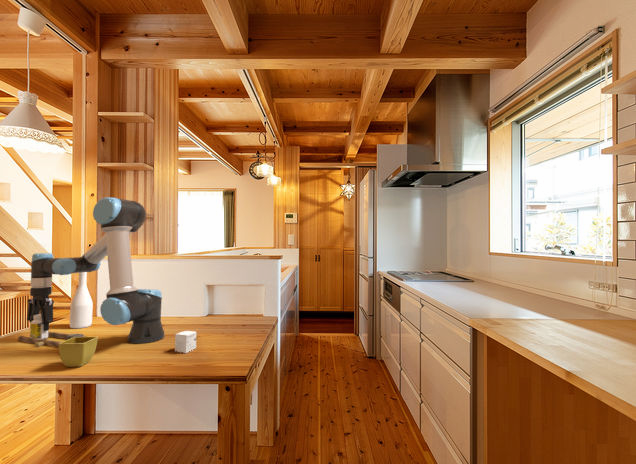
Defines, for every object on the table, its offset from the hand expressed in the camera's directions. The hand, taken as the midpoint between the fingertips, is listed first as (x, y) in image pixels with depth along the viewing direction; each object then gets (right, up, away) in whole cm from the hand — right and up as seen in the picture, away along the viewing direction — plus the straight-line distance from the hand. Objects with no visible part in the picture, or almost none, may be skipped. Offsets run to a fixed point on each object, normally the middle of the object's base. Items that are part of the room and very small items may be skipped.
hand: (39, 336), depth 147 cm
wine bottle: (+3, -2, +22) cm, 22 cm away
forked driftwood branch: (+10, -1, -3) cm, 11 cm away
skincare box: (+73, -2, -12) cm, 74 cm away
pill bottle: (0, -1, 0) cm, 1 cm away
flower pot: (+40, -1, -29) cm, 50 cm away
